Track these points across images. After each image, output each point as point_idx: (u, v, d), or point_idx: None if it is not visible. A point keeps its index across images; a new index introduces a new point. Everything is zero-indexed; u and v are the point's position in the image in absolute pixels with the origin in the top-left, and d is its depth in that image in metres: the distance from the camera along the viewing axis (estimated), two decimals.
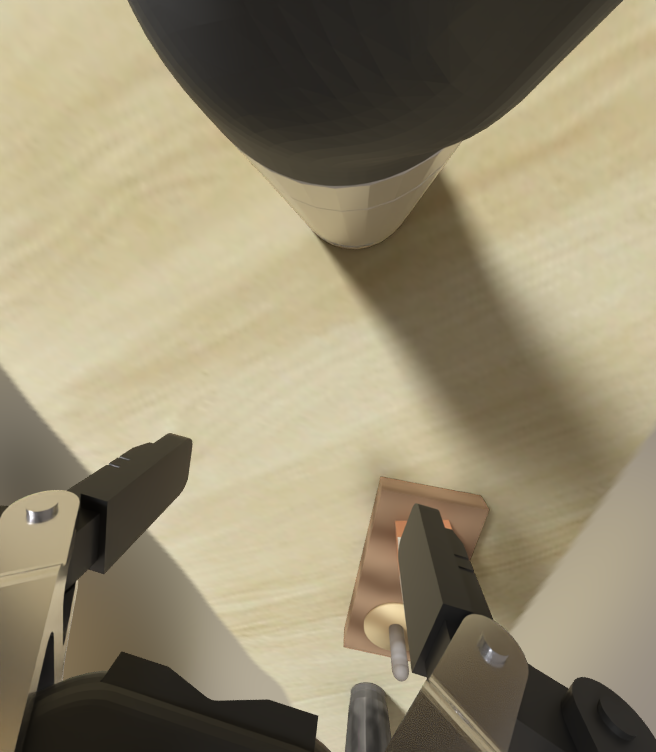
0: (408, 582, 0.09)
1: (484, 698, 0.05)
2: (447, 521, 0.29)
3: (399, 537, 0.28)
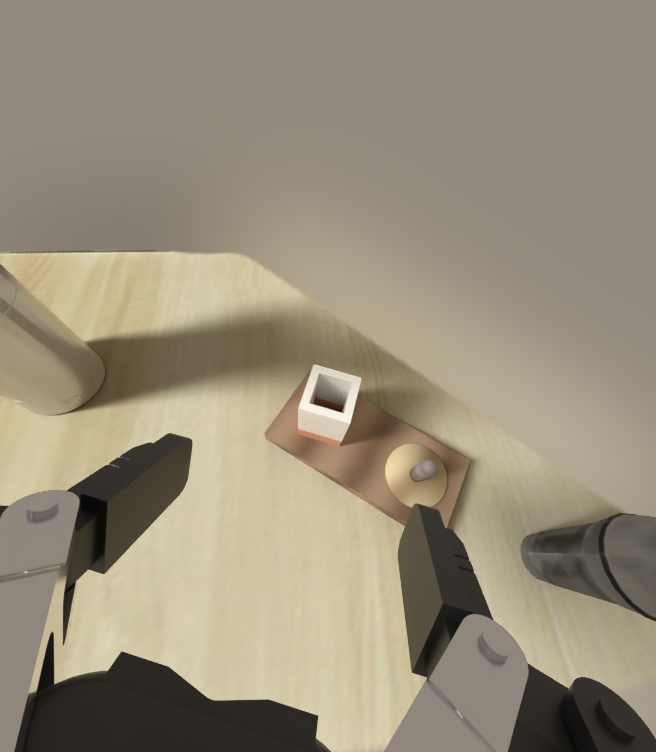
0: (408, 582, 0.09)
1: (484, 698, 0.05)
2: None
3: (298, 427, 0.34)
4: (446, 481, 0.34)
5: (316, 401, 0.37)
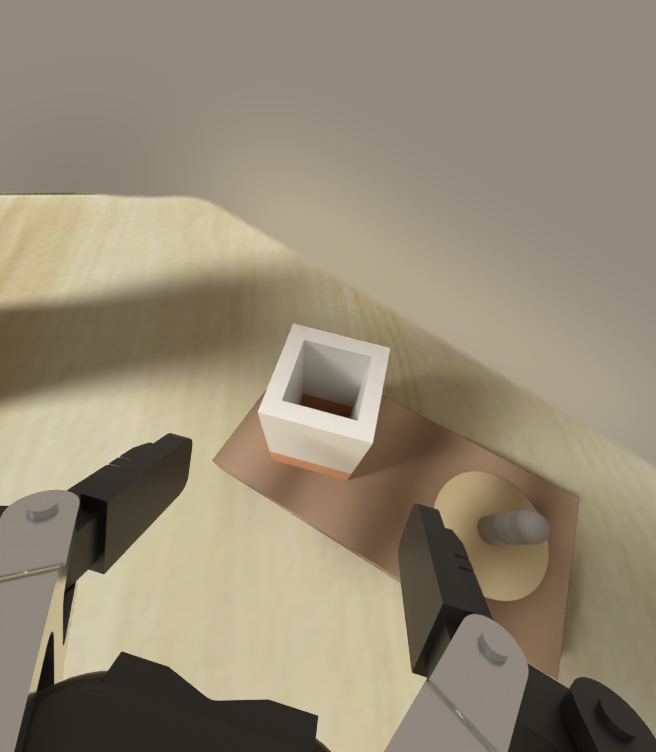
0: (408, 582, 0.09)
1: (484, 698, 0.05)
2: None
3: None
4: (546, 541, 0.19)
5: (305, 401, 0.21)
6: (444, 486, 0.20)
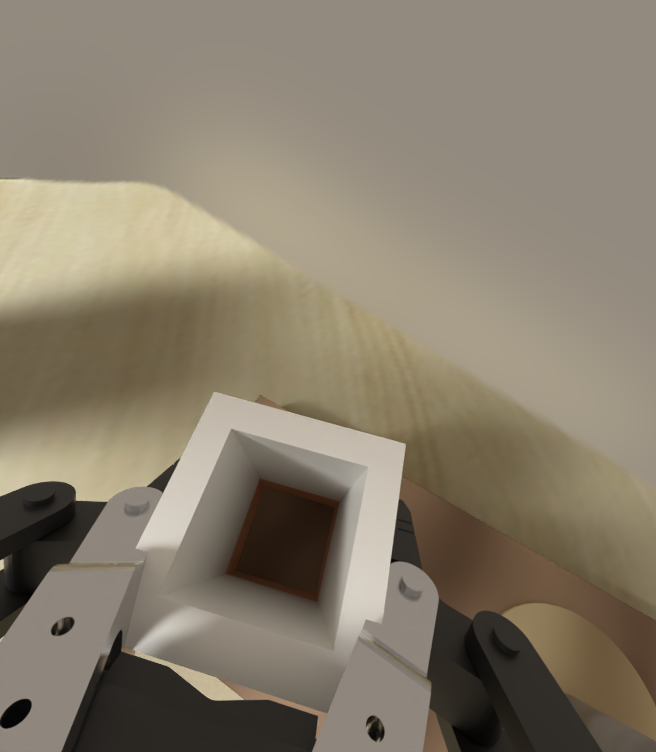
0: None
1: (408, 631, 0.06)
2: None
3: None
4: None
5: (266, 484, 0.14)
6: None
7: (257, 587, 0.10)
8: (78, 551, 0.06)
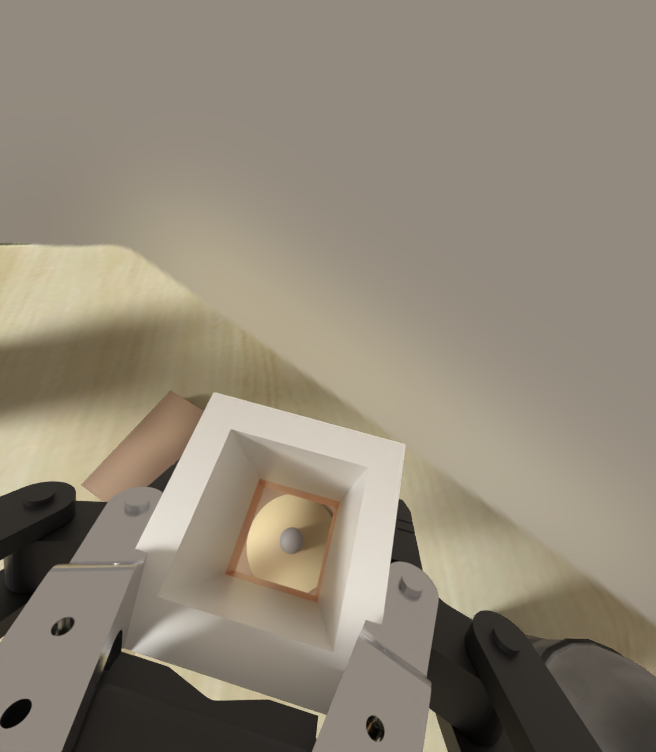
0: None
1: (407, 631, 0.06)
2: None
3: None
4: None
5: (266, 484, 0.14)
6: (265, 506, 0.25)
7: (257, 587, 0.10)
8: (78, 551, 0.06)
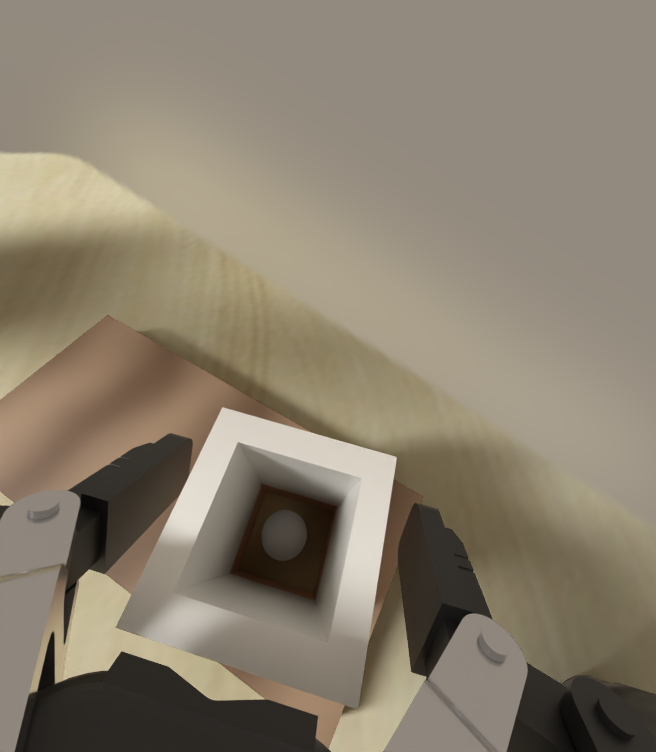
0: (407, 582, 0.09)
1: (483, 697, 0.05)
2: None
3: None
4: None
5: (268, 489, 0.14)
6: None
7: (259, 586, 0.11)
8: None
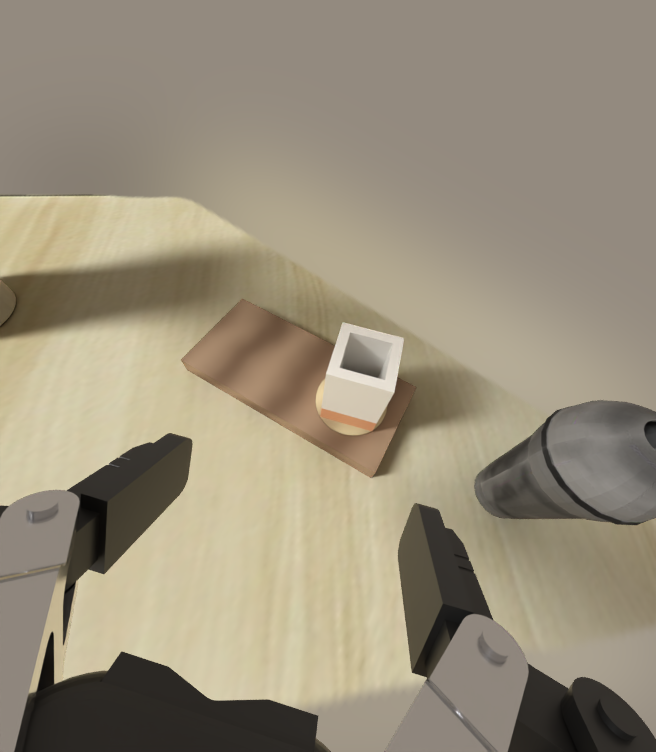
0: (408, 582, 0.09)
1: (485, 698, 0.05)
2: None
3: None
4: (386, 407, 0.30)
5: None
6: None
7: None
8: None
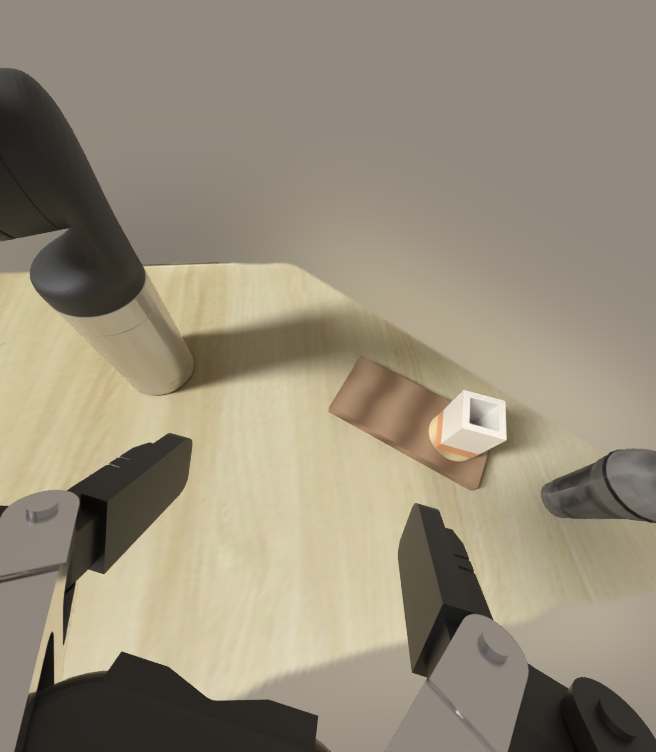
0: (408, 582, 0.09)
1: (485, 698, 0.05)
2: (438, 415, 0.44)
3: (441, 442, 0.40)
4: None
5: None
6: (434, 418, 0.44)
7: None
8: None
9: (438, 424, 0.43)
